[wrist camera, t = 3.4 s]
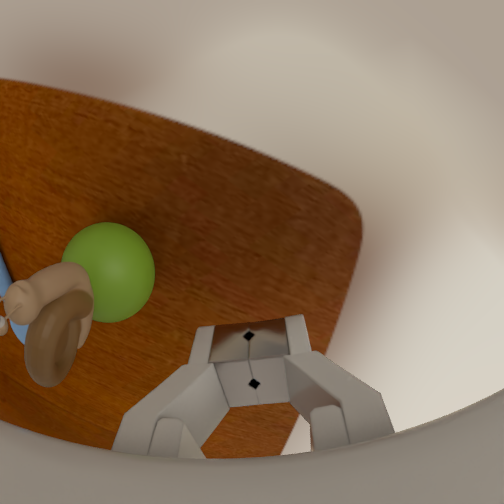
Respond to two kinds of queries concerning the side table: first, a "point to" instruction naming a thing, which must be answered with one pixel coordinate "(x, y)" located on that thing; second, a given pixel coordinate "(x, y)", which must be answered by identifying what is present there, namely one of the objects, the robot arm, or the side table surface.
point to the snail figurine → (79, 296)
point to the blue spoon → (3, 280)
